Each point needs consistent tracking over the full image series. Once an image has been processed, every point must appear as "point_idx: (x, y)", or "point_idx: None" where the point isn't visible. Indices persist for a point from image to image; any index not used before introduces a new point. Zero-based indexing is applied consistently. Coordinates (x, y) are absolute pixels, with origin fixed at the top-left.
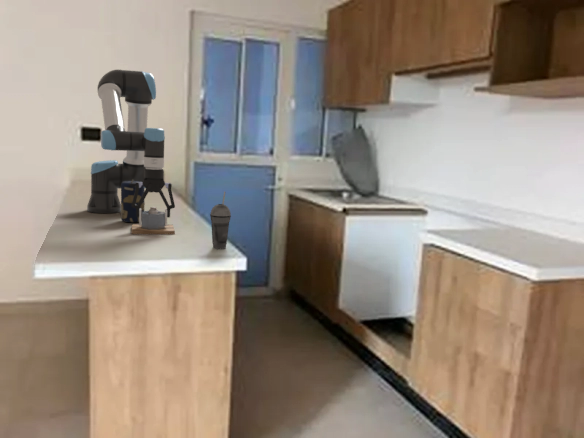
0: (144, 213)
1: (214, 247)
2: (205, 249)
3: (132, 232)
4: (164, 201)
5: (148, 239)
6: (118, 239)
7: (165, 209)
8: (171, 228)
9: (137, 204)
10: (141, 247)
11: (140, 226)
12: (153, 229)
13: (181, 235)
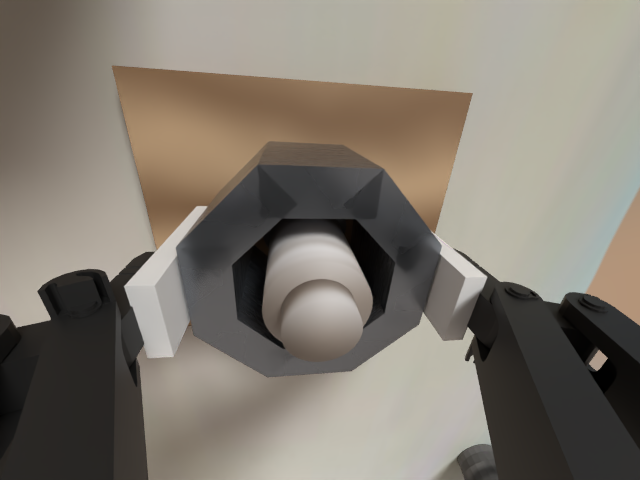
0: (225, 344)
1: (460, 465)
2: (431, 468)
3: None
4: (504, 443)
5: (275, 396)
6: (146, 406)
7: (453, 320)
8: None
9: (52, 355)
10: (254, 475)
11: (209, 185)
12: None
13: (427, 325)
